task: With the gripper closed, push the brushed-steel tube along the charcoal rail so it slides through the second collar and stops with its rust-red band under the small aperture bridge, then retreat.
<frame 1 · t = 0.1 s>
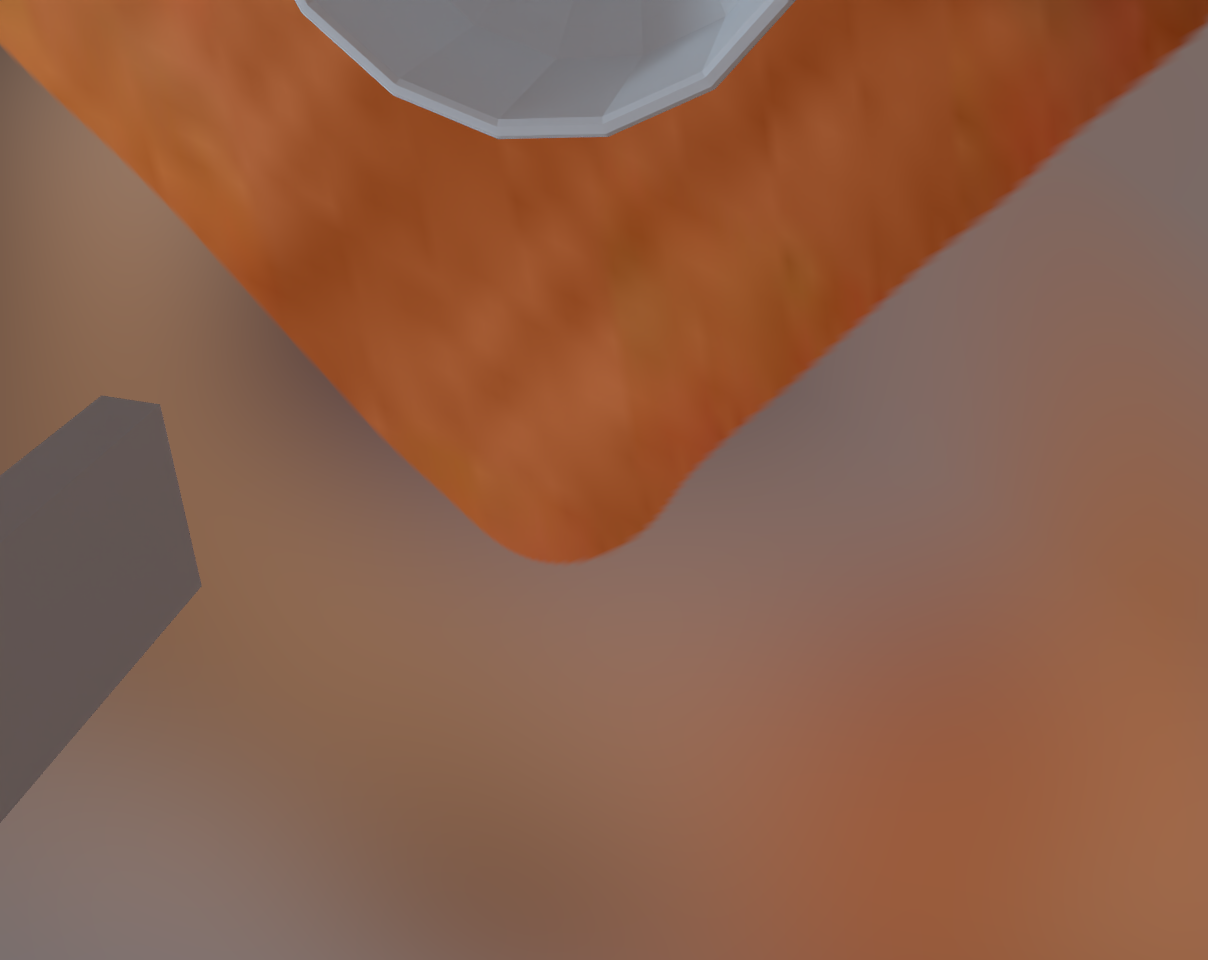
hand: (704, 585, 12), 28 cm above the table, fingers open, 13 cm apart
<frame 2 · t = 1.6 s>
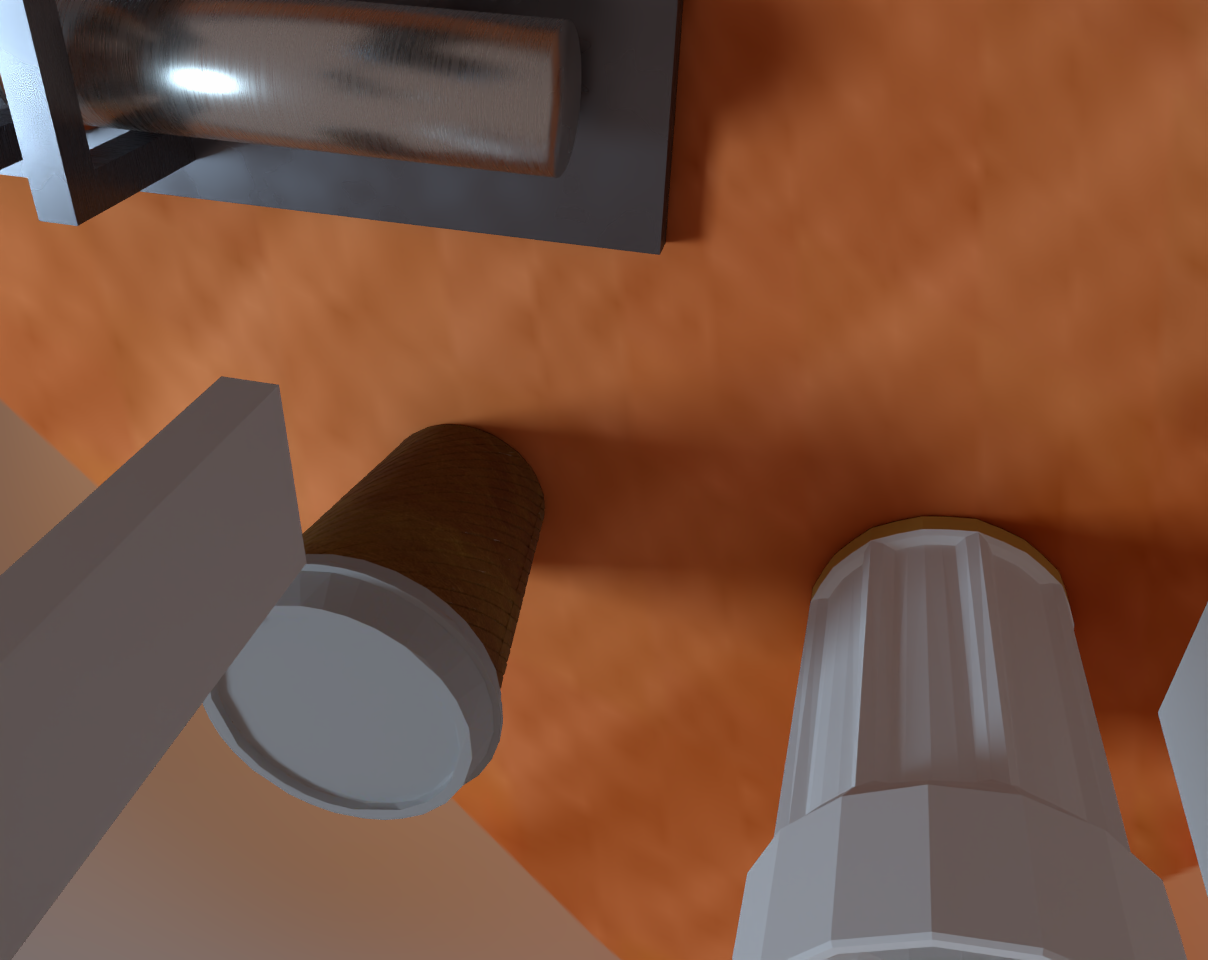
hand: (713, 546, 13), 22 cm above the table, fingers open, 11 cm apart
tube: (285, 72, 30), point 4 cm above the table, slide at 0.0 cm
cup: (936, 613, 40), on the table
collar rail: (204, 33, 34), on the table
disposable coffee cup: (467, 491, 41), on the table
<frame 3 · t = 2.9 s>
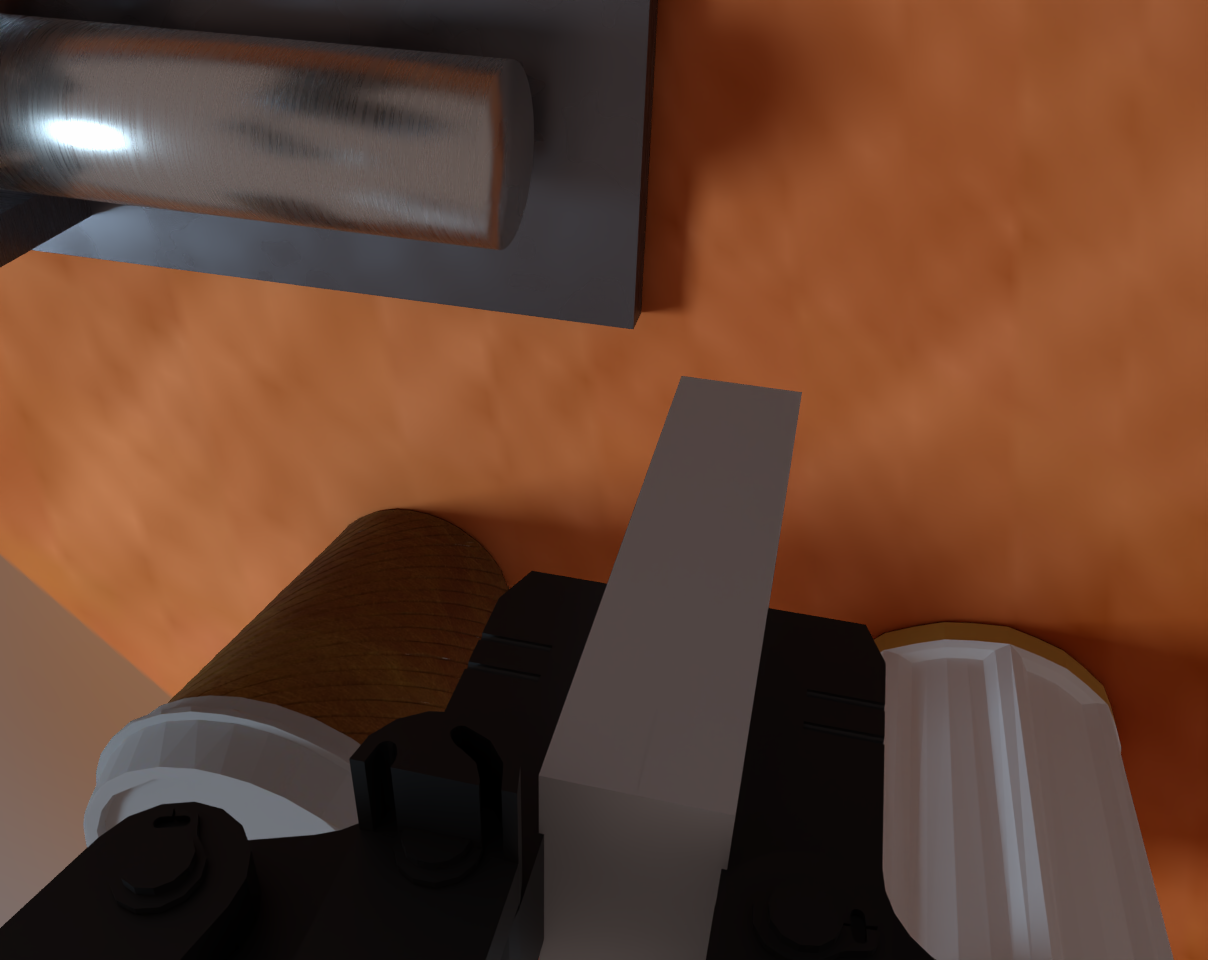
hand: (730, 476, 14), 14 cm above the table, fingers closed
tube: (177, 122, 25), point 3 cm above the table, slide at 0.0 cm
cup: (959, 725, 34), on the table
collar rail: (95, 69, 29), on the table
disposable coffee cup: (423, 581, 36), on the table
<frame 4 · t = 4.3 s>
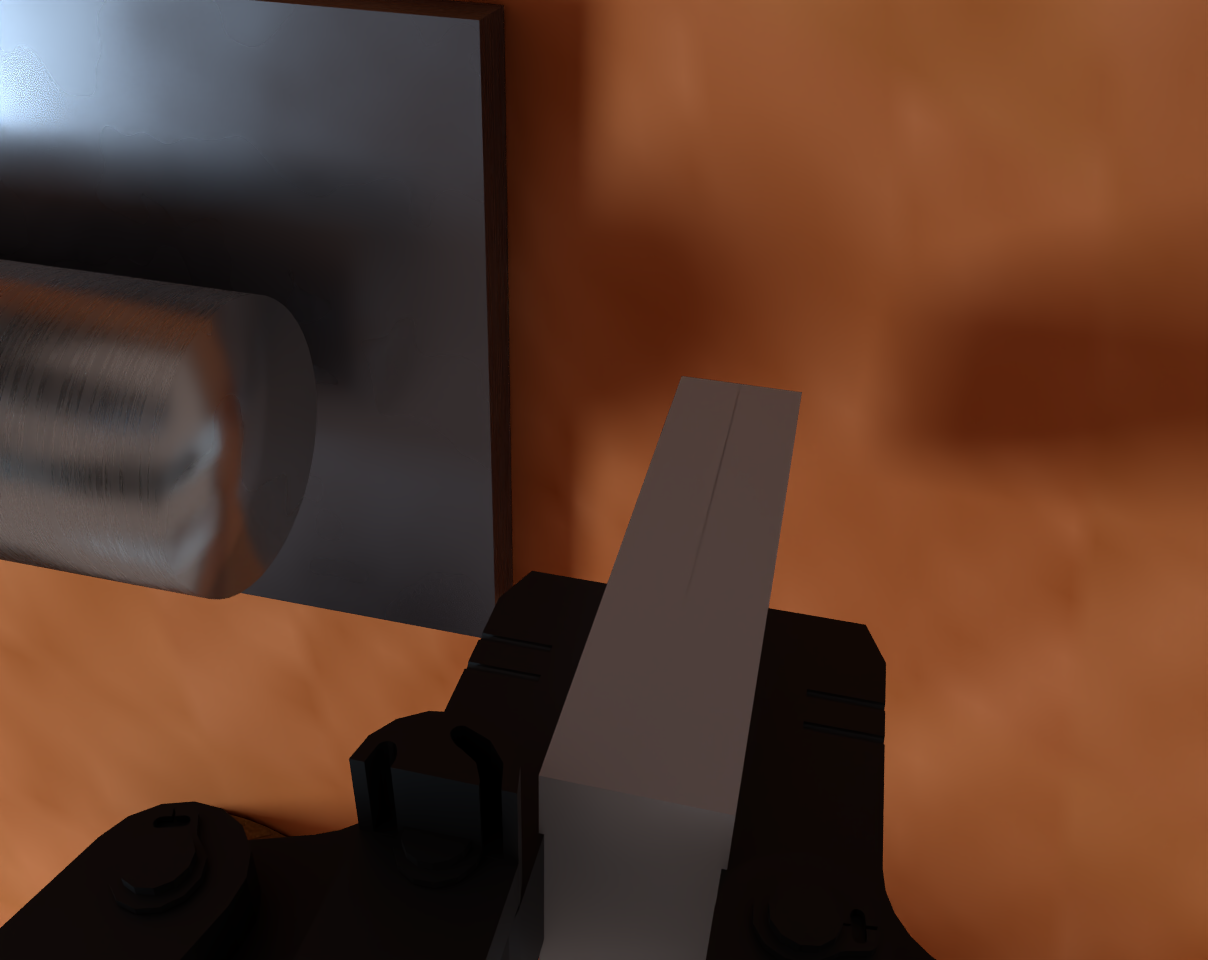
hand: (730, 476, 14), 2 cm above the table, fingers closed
disposable coffee cup: (250, 886, 27), on the table
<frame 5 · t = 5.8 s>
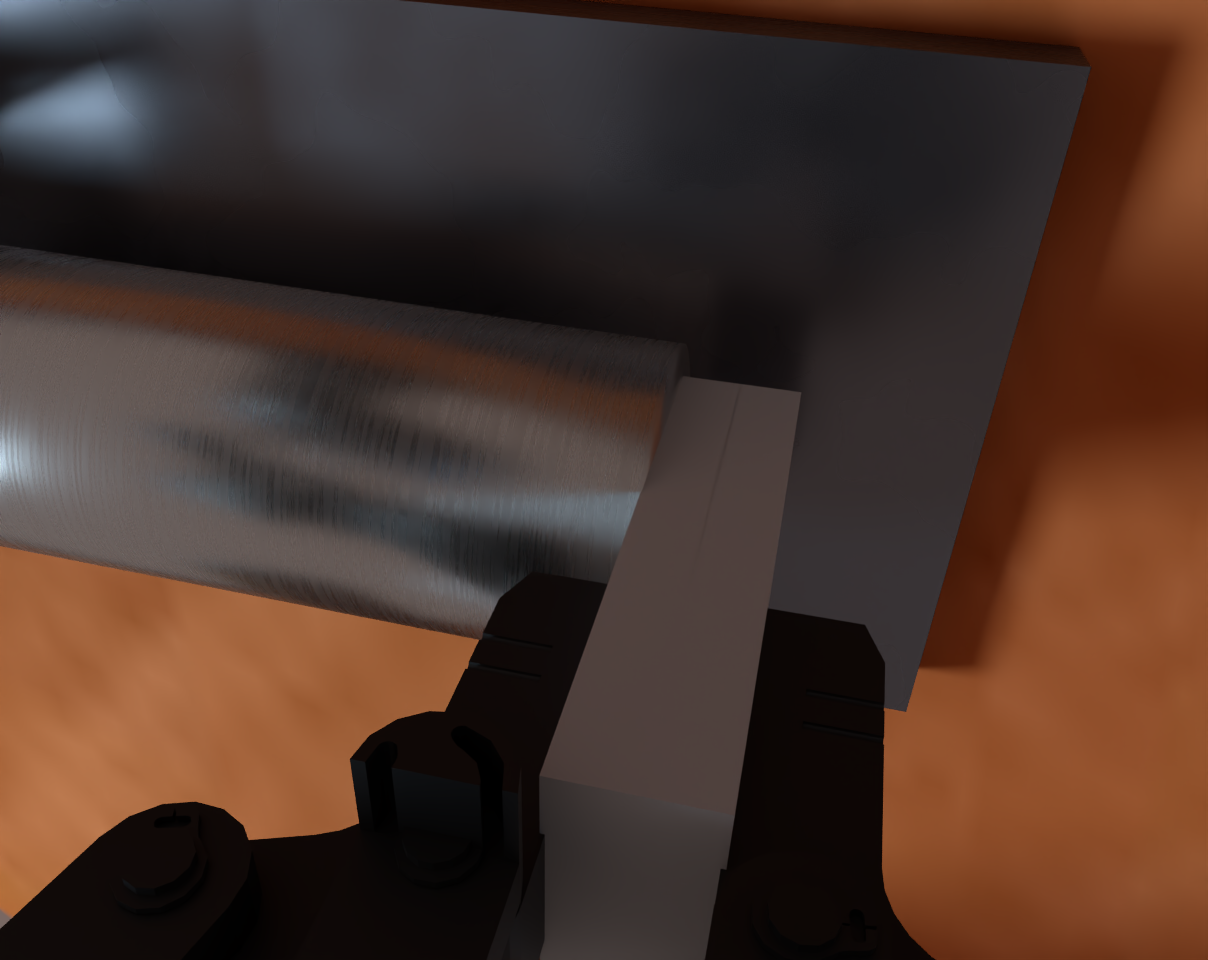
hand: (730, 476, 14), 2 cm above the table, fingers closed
tube: (75, 407, 14), point 4 cm above the table, slide at 1.5 cm, touching gripper
collar rail: (43, 276, 18), on the table
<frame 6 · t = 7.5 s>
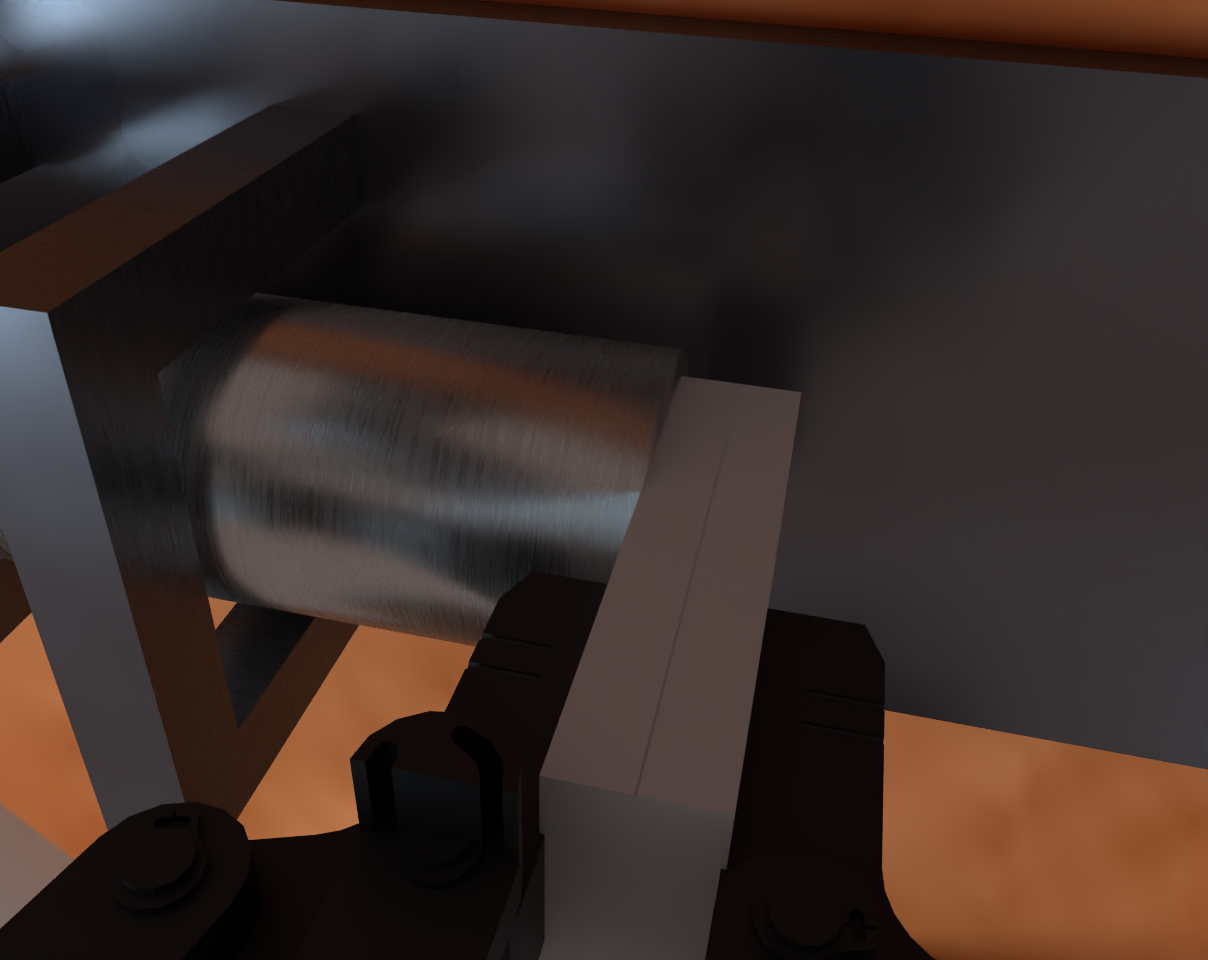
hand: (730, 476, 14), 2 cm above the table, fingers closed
tube: (76, 419, 15), point 3 cm above the table, slide at 8.2 cm, touching gripper
collar rail: (428, 341, 17), on the table
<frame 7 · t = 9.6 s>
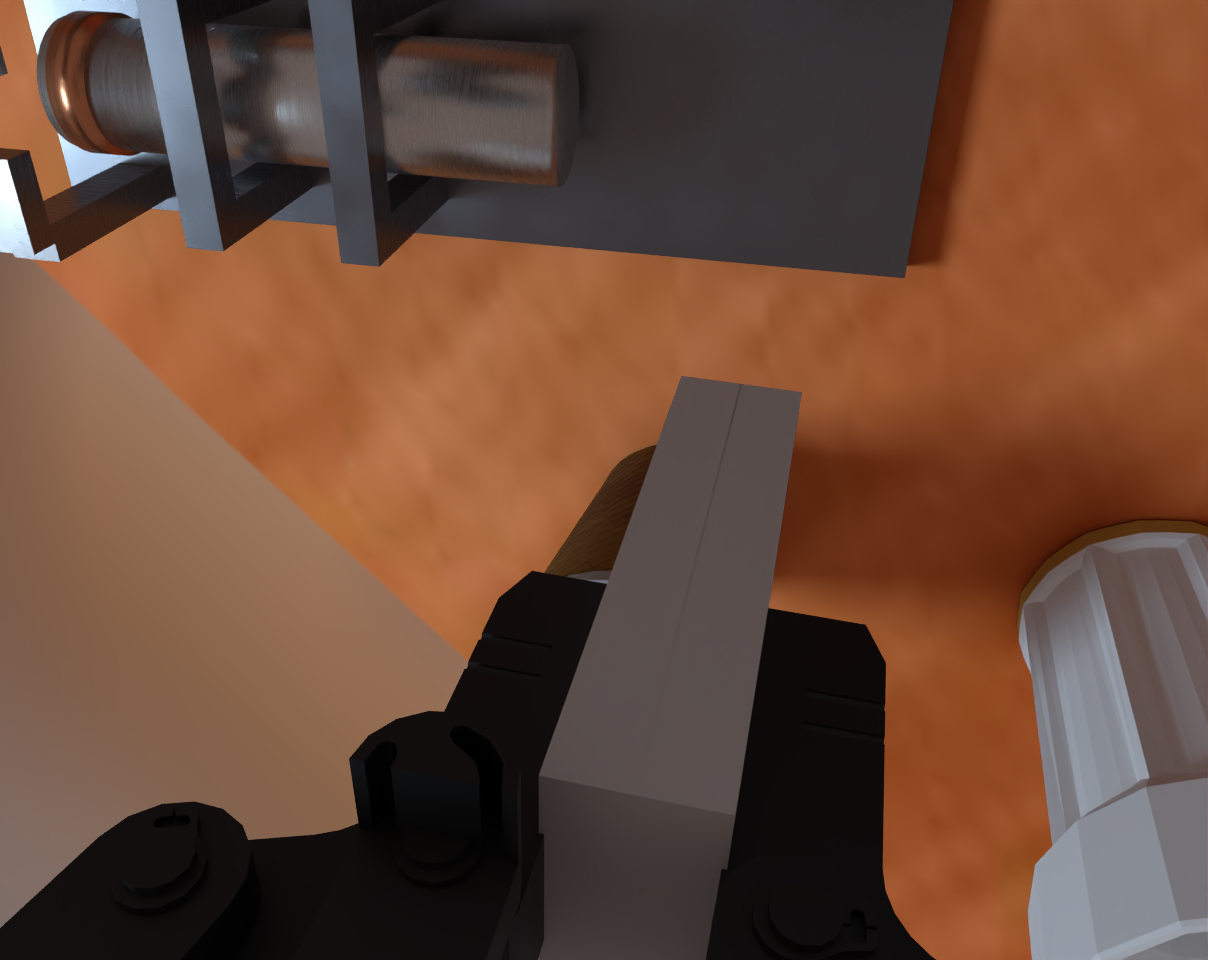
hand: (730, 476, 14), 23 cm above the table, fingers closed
tube: (312, 99, 33), point 3 cm above the table, slide at 8.2 cm
cup: (1142, 613, 41), on the table
collar rail: (462, 80, 36), on the table
disposable coffee cup: (678, 508, 43), on the table
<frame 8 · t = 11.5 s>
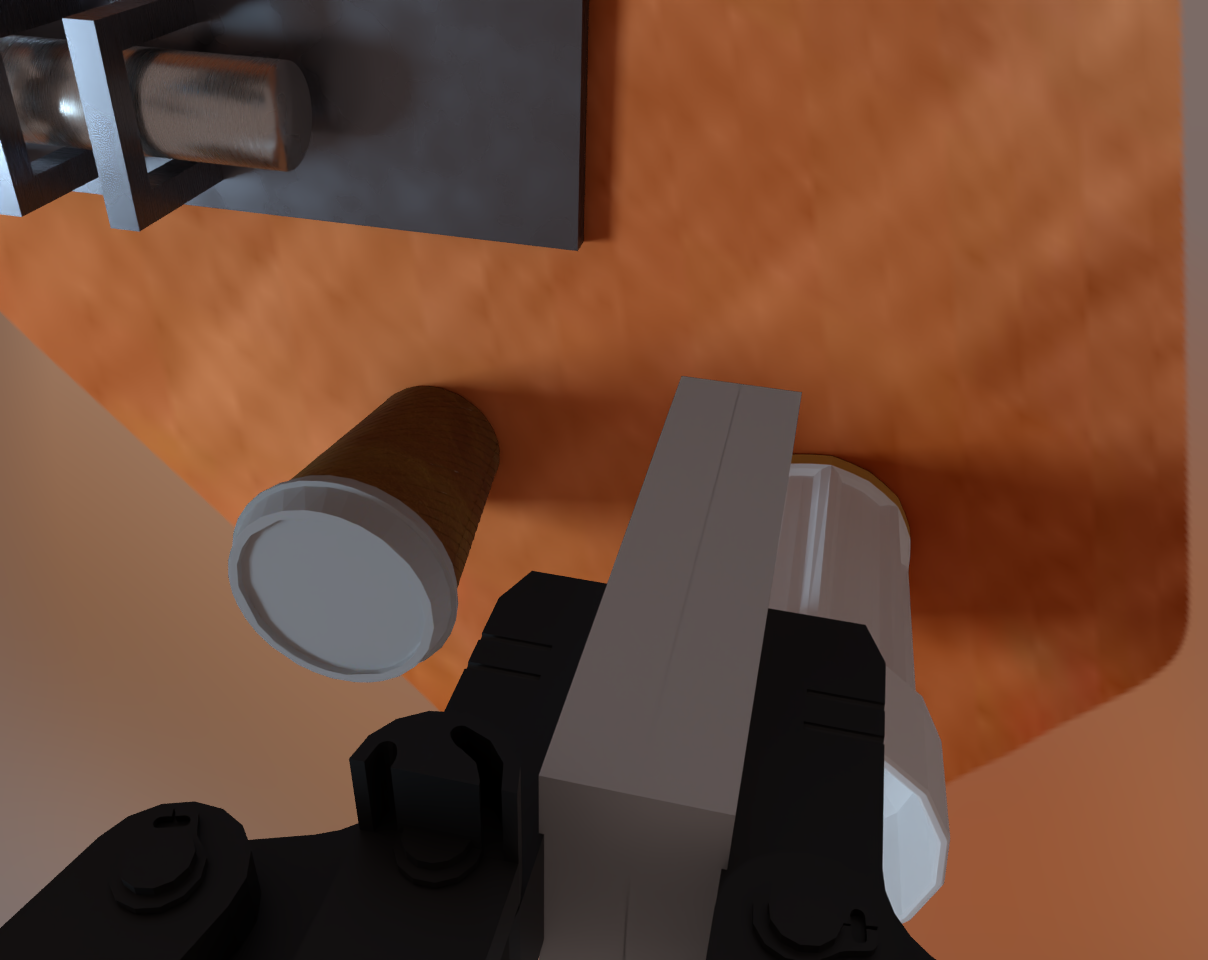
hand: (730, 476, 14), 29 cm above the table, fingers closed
tube: (97, 97, 42), point 4 cm above the table, slide at 8.2 cm
cup: (808, 533, 50), on the table
collar rail: (230, 84, 44), on the table
disposable coffee cup: (438, 441, 52), on the table
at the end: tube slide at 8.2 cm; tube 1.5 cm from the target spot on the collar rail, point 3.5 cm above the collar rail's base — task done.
